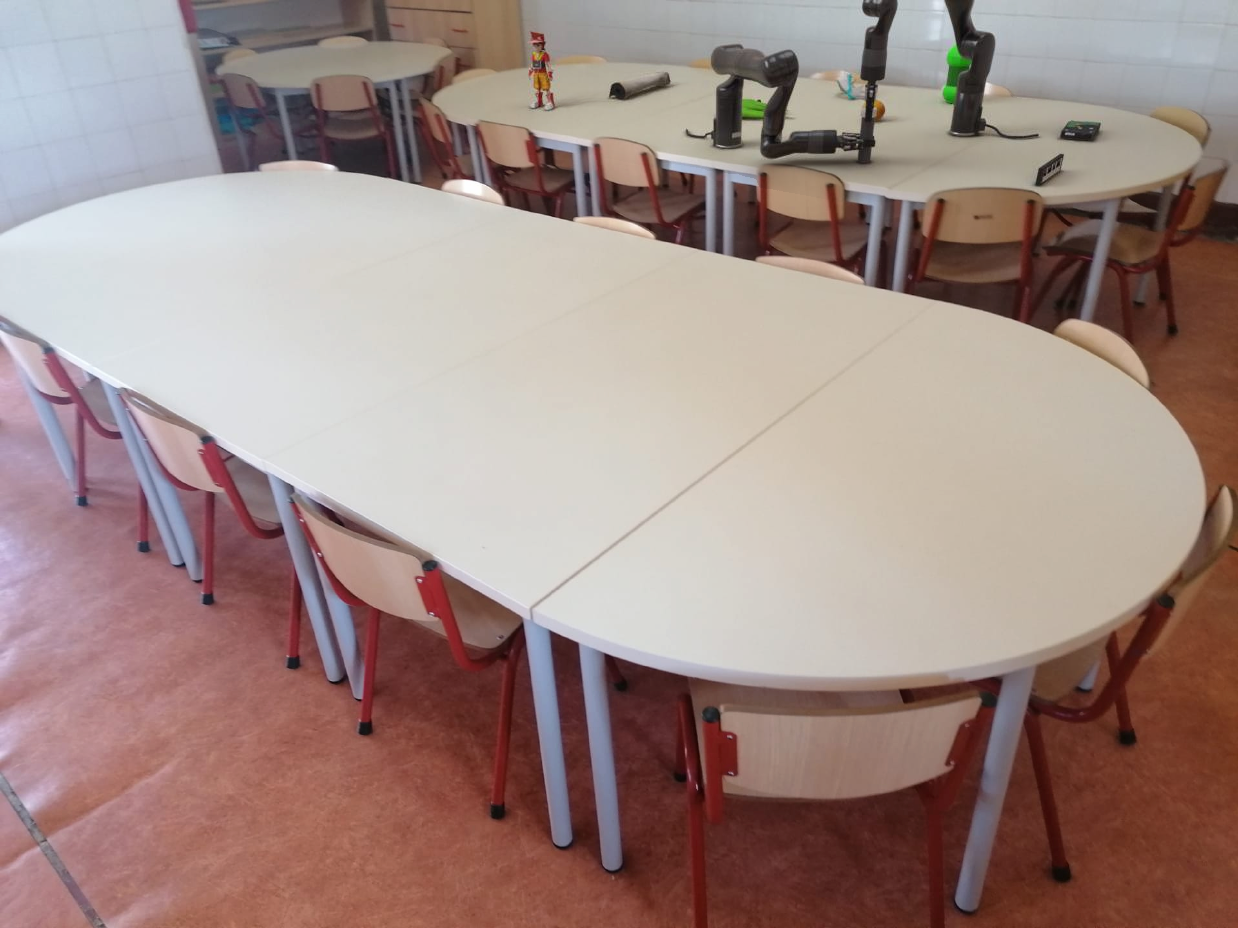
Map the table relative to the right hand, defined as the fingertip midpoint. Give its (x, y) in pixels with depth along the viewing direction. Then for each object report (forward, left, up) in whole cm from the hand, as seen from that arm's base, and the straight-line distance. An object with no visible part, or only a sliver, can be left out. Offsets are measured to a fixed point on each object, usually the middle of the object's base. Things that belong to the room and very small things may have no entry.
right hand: (868, 119), depth 290 cm
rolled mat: (+94, -101, -14) cm, 139 cm away
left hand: (-3, 0, -7) cm, 8 cm away
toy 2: (+40, -61, -14) cm, 74 cm away
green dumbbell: (-36, -80, -14) cm, 89 cm away
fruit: (-4, -53, -14) cm, 55 cm away
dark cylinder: (0, 0, -14) cm, 14 cm away
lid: (0, 0, +3) cm, 3 cm away
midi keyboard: (-55, +16, -14) cm, 58 cm away
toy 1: (+132, -75, -14) cm, 152 cm away
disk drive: (-73, -33, -14) cm, 81 cm away
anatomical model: (+4, -92, -14) cm, 93 cm away
